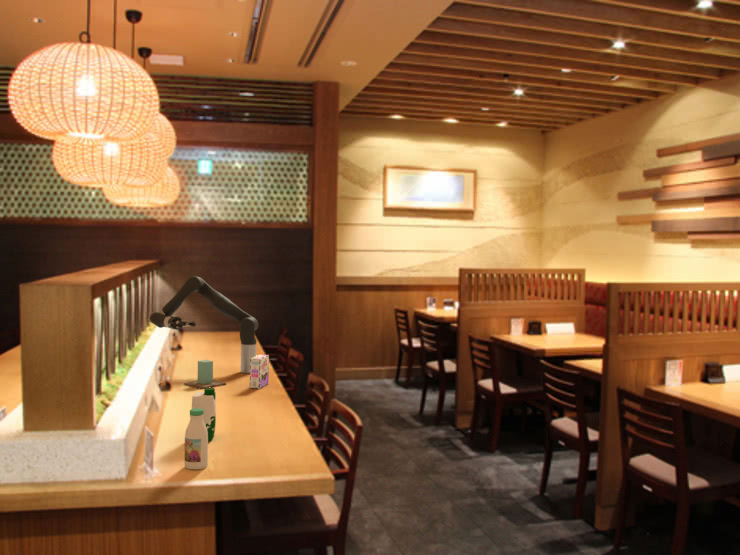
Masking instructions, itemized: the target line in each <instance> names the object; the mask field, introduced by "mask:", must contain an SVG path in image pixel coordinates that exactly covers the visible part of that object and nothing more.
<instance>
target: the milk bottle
mask: <svg viewBox="0 0 740 555" xmlns="http://www.w3.org/2000/svg"><path fill="white" fill-rule="evenodd" d="M203 414H204V410H203V409H200V408H195V409H192V408H191V409H190V410H189V417H190V419H189V423H188V425H187V427H186V430H185V433H184V434H185V435H184V468H185V467H186V468H188V469H187V470H189V469H200V470H203V468H204V469H206V468H207V467H208V465H209V463H208V462H209V442H208V432H207V428H206V426H205V423H204V421H203V416H204V415H203ZM205 467H206V468H205ZM186 468H185V469H186Z"/></svg>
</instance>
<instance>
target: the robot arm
mask: <svg viewBox="0 0 740 555" xmlns="http://www.w3.org/2000/svg"><path fill="white" fill-rule="evenodd" d="M194 292H196V293H197V294H199V295H201V296H202V297H204V299H206V300H207V301H208V303H209V304H210V305H211V306H212V307H213V308H214V309H216V311H218V312H219V313H220V314H223V315H225V316H227V317H229V318H231V319H233V320H235V321H237V322H238V323H239V339H240V373H243V374H250V358H253V357H256V356H257V338H256V337H255V331H257V330H258V328H259V322H258V320H257V319H256V318H255V317H254V316H252V315H251V314H248V313H247V312H246V311H244V310H243V309H241V308H240V307H239V306H238V305H237V304H236V303H234V302H232V301H231V299H229V298H228V297H226V296H225V295H223V294H222V293H221V292H219V291H217V290H216V289H214V288H213V287H212V286H211V285H209V284H208V283H207V282H206V281H205V280H204V279H203V278H202V277H200V276H196V275H191V276H190V277H188V279H186V280H185V282H184V284H183V285H182V287H181V288H180V289H179V290H178V291H177V292H176V294H175V295H174V296H173V297H172V298H171V299H169V301H168V302H167V303H165V304H164V306H163V307H162V308H161V310H162V311H161V312H163V313H160V312H157V311H156V312H153V313H151V314H150V315H149V321H150V323H151V324H153V325H155V326H156V327H157V328H167V329H171V330H180V329H181V328H185V327H186V328H187V327H196V325H197V324H196V322H195V321H194V320H183V319H182V318H181V317H179V316H174V313H175V312H177V311H178V309H179V308H180V307H181V306H182V304H183V303H184V302H185V300H186V299H187V297H188V296H190V295H191V294H192V293H194Z"/></svg>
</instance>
